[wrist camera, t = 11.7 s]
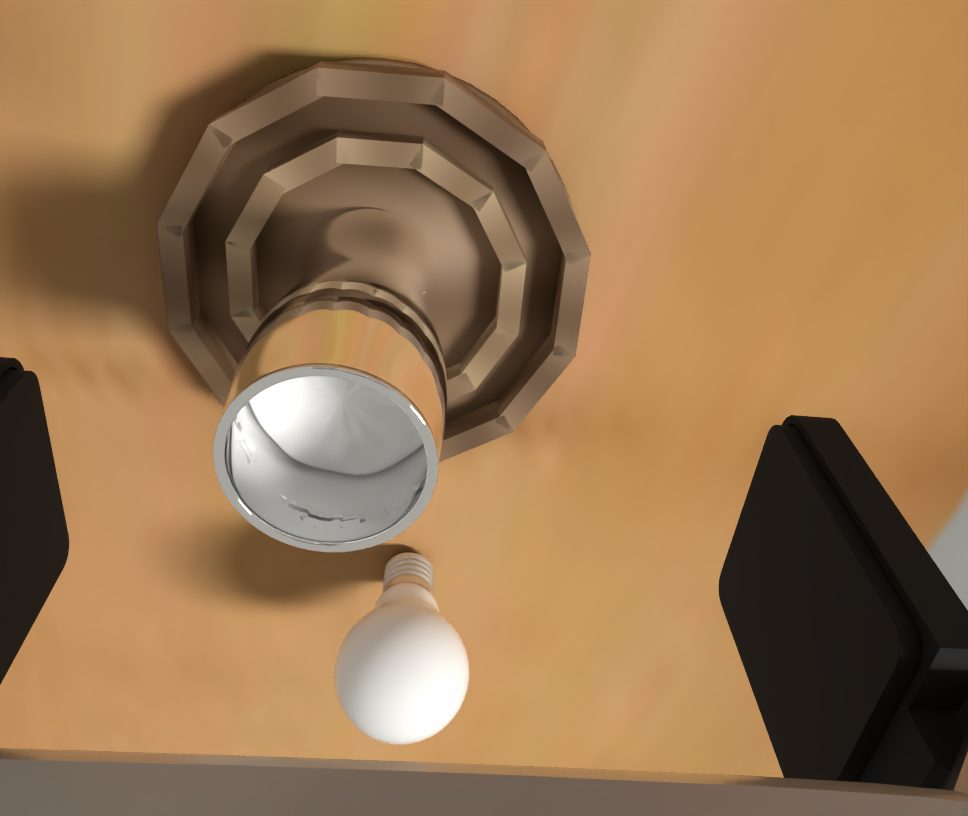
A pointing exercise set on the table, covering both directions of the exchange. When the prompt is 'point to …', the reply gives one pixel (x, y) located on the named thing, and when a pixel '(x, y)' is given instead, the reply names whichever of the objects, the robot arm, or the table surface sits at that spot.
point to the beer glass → (341, 393)
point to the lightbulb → (402, 660)
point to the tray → (394, 188)
